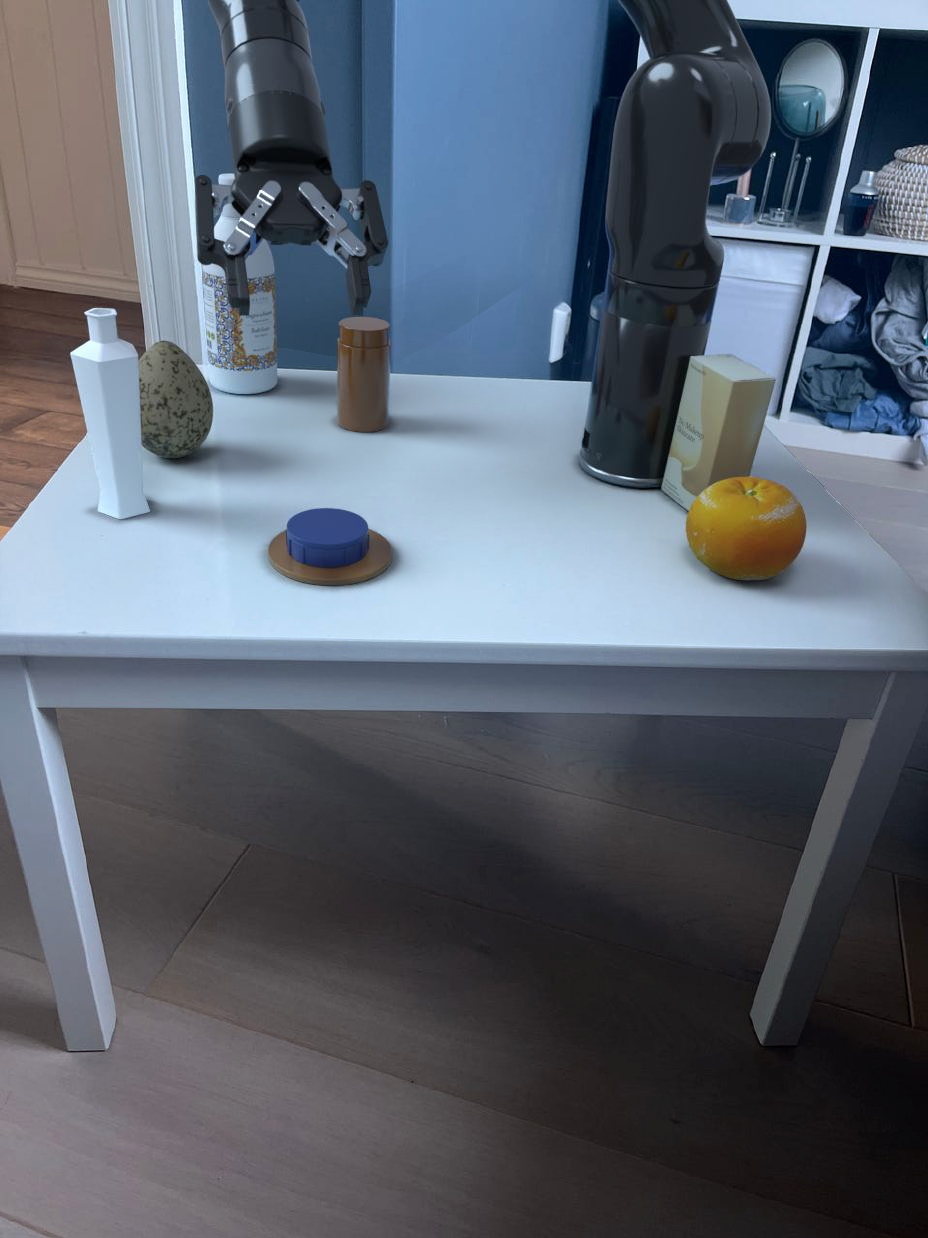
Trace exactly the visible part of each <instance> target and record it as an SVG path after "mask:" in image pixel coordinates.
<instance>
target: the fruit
mask: <svg viewBox="0 0 928 1238" xmlns="http://www.w3.org/2000/svg"><path fill="white" fill-rule="evenodd" d="M807 526H808V525H807V518H806V514H805V511H804V509H803V506H802V504H801V502H800V500H799V498H797V496H796V495H795V494H794V493H793V492H792V491H791V490H790V489H788V488H787V487H785V486H783V485H782V484H779V483H778V482H776V481H773V480H769V479H765V478H761V477H758V476H757V477H756V476H750V477H734V478H729V479H725V480H721V481H719V482H716V483H714V484H712V485H711V486H709V487H708V488H706V489H705V490H704V491H703V492H701V493H700V494H699V495H698V496H697V498H696V499H695V500H694V502H693V503H692V505H691V507H690V509H689V511H688V512H687V515H686V519H685V535H686V540H687V544H688V546H689V549H690V550H691V552H692V554H693V555H694V557H696V559H697V560H698V561H699V562H700V563H702V564H703V566H705V567H707V568H708V569H709V570H711V571H713V572H714V573H716V574H718V575H720V576H722V577H725V578H729V579H731V580H736V581H737V580H738V581H763V580H768V579H772V578H774V577H776V576H778V575H779V574H781V573H783V572H784V571H785V570H786V569H787V568H788V567H790V566H791V564H793V562H794V561H795V560H796V559H797V558H798V556H799V554H800V553H801V551H802V549H803V547H804V544H805V540H806V536H807Z"/></svg>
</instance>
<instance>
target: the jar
mask: <svg viewBox="0 0 928 1238" xmlns="http://www.w3.org/2000/svg"><path fill="white" fill-rule="evenodd" d="M337 327H339V333H338V334H339V335H338V337H337V339H336V357H337V358H336V423H337V425H338V426H339V427H340V428H342V429H345V430H348V431H350V432H351V431H353V432H359V433H373V432H379V431H382V430H384V429H386V428H387V427H388V426H389V420H390V419H389V418H390V392H391V367H392V365H391V363H392V362H391V361H392V341H391V339H390V334H391V333H390V329H391V328H390V327H391V325H390V323H389V322H388V321H386V320H384V319H381V318H377V317H371V316H351V317H345V318H343V319H341V320H340V321H339V322H338V324H337Z"/></svg>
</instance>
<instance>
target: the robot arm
mask: <svg viewBox="0 0 928 1238" xmlns="http://www.w3.org/2000/svg"><path fill="white" fill-rule="evenodd" d="M206 1H207V3H208V6H209V8H210V10H211V13H212V15H213V17H214V19H215V22H216V24H217V27H218V29H219V35H220V47H221V56H222V62H223V63H222V64H223V70H224V71H223V72H224V104H225V112H226V113H225V114H226V119H227V120H226V121H227V129H228V137H229V145H230V153H231V162H232V169H233V174H234V177H235V179H234V181H233V183H232V185H222V184H219V183H213V182H212V179H211V178H210V177H209V176H208V175H206V174H199V175H197V176H196V177H195V178H194V208H195V209H194V212H195V214H194V215H195V233H196V234H195V236H196V255H197V257H196V258H197V262H199V263H200V265H202V264H203V265H210V264H215V265H218V266H220V267H221V268H222V269H223V270H224V272H225V277H226V286H227V294H228V302H229V304H230V306H231V307H232V308H238V310H239V316H249V311H250V296H249V288H248V280H247V272H246V264H245V260H246V259H247V257H248V256H249V255H252V254H253V252H254V251H255V250H256V248H257V247H258V246H259V244H260V243H261V242H262V240H263V239H265V240H266V241H267V242H270V245H271V246H283V245H288V244H294V245H298V246H312V243H314V242H315V243H316V244H317V245H318V246H319V247H320V248H321V249H322V250H323V251H324V252H325V253H326V254H327V255H328V256H329V257H334V258H335V259H336V260H337V261H338V262H339V263H340V264H341V265H342V266H343V267H344V268H345V269H346V271H345V280H346V288H347V294H348V301H349V308H350V313H351V315H353V316H358V315H359V316H361V315H362V313H363V310H364V308H367V307H368V304H369V301H370V297H371V294H372V287H371V281H370V275H369V267H371V266H373V267H380V266H381V265H382V264H383V261H384V258H385V255H386V252H387V249H388V246H389V240H388V234H387V231H386V226H385V221H384V217H383V213H382V209H381V204H380V199H379V194H378V190H377V187H376V184H375V183H374V182H373V181H372V180H367V179H365V180H363V181H362V182H361V183H360V186H359V187H357V188H355V187H354V188H341V187H340V185H339V184H338V183H337V181H336V180H335V178H334V173H333V166H332V160H331V159H332V158H331V152H330V146H329V138H328V131H327V125H326V120H325V119H326V109H325V105H324V102H323V99H322V93H321V89H320V84H319V82H318V78H317V76H316V71H315V67H314V61H313V54H312V48H311V40H310V33H309V29H308V23H307V20H306V17H305V14H304V12H303V11H304V10H302V8H301V6H300V3H302V1H303V0H206ZM617 2H618V3H619V4H620V6H621V7H622V8H623V9H624V11H625V12H626V14H627V15H628V17H629V18H630V20H631V22H632V23H633V25H634V26H635V29H636V30H637V32H638V34H639V36H640V38H641V40H642V42H643V45H644V47H645V49H646V52H647V55H648V59H647V60H646V61H645V62H642V64H641V65H640V66H639V67H638V68H637V69H636V70H635V71H634V73H633V74H632V75H631V77H630V78H629V80H628V82H627V84H626V86H625V88H624V91H623V92H622V96H621V98H620V102H619V104H618V108H617V113H616V117H615V121H614V127H613V133H612V134H613V135H612V143H611V151H610V162H609V173H608V184H607V193H606V204H605V217H604V218H605V219H604V220H605V221H604V224H605V233H606V239H607V242H608V247H609V257H608V258H609V259H608V264H607V265H608V266H607V272H606V278H605V284H604V285H605V286H604V292H603V299H602V300H603V301H602V305H601V306H602V308H601V312H600V313H601V314H600V321H599V326H598V327H599V328H598V334H597V341H596V347H595V355H594V362H593V369H592V370H593V371H592V376H591V382H590V389H589V397H588V401H587V402H588V403H587V409H586V416H585V422H584V425H583V431H582V432H581V433H582V437H581V448H580V451H579V455H578V464H579V466H580V467H581V469H582V470H584V471H585V472H586V473H587V474H589V475H591V476H592V477H595V478H597V479H598V480H602V481H604V482H607V483H610V484H613V485H619V486H623V487H631V488H643V489H644V488H647V489H648V488H659V487H662V483H663V479H664V474H665V470H666V465H667V461H668V456H669V452H670V447H671V443H672V438H673V434H674V429H675V425H676V420H677V416H678V411H679V407H680V402H681V398H682V393H683V389H684V384H685V380H686V375H687V371H688V366H689V362H690V357H691V356H700V355H706V349H707V343H708V339H709V335H710V329H711V325H712V320H713V315H714V310H715V304H716V300H717V295H718V291H719V286H720V281H721V277H722V272H723V266H724V263H725V262H724V261H725V249H724V246H723V245H722V243H720V241H718V239H716V238H714V237H713V236H712V235H711V234H710V233H709V230H708V226H707V212H708V205H709V197H710V189H711V186H714V185H720V184H726V183H730V182H732V181H735V180H738V179H740V178H741V177H744V176H745V175H747V173H749V172H750V171H751V170H752V169H753V168H754V167H755V165H756V164H757V162H758V161H760V158H761V157H762V155H763V153H764V150H766V145H767V143H768V140H769V137H770V131H771V123H772V108H771V107H772V106H771V99H770V98H771V97H770V94H769V91H768V90H769V89H768V87H767V84H766V81H765V78H764V75H763V74H762V73H763V72H762V71H761V68H760V66H759V64H758V61H757V60H756V58H755V56H754V53H753V51H752V49H751V47H750V44H749V43H748V41H747V39H746V37H745V35H744V33H743V31H742V28H741V26H740V24H739V22H738V20H737V18H736V16H735V14H734V11H733V9H732V7H731V5H730V3H729V1H728V0H617ZM228 203H231V204H232V206H233V208H234V209H235V210H236V211H237V212H238V213H239V214H240V215H241V216H242V217H241V218H240V220H239V222H238V225H237V227H236V229H235V230H234V231H233V233H232V234H231V235H230V237H229V238H228V239H227V241H226V242H224V241H221V240H218V239H215V238H214V227H215V223H214V221H215V220H214V218H217V217H218V216H219V215H220V216H221V213H222V211H223V207H224V206H225V205H226V204H228ZM341 207H343V208H346V209H347V210H348V211H349V213H350V215H351V217H352V219H353V220H355V221H358V222H359V227H360V232H361V236H362V240H363V242H362V240H360V239H359V237H357V236H356V235H355V234H354V233H353V232H352V230H351V229H350V227H349V224H348V222H347V220H346V219H345V218H344V217H343V216H342V215H341V214H340V213H339V212H340V209H341Z"/></svg>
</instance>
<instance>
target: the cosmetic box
mask: <svg viewBox="0 0 928 1238" xmlns="http://www.w3.org/2000/svg"><path fill="white" fill-rule="evenodd" d="M776 381H777V377H775V376H773V375H770V374H769V373H767V372H765V371H763V370H762V369H760V368H759V367H757V366H756V365H754V364H752V363H750V362H747V361H744V360H743V359H741V358H739V357H738V356H736V355H734V354H732V353H720V354H705V355H700V356H691V357H690V362H689V366H688V371H687V375H686V380H685V384H684V389H683V393H682V398H681V402H680V407H679V411H678V416H677V420H676V425H675V429H674V434H673V438H672V443H671V447H670V452H669V456H668V461H667V465H666V470H665V474H664V479H663V483H662V486H661V491H662V492H664V493H665V494H666V495H667V496H668V497H670V498H671V499H672V500H673V501H675V502H676V503H677V504H678V505H680V507H682V508H684V510H686V511H688V512H689V509H690V507H691V505H692V503H693V502H694V500H695V499H696V498H697V496H698V495H699V494H700V493H701V492H703V491H704V490H705V489H706V488H708V487H709V486H711V485H712V484H714V483H716V482H719V481H721V480H725V479H729V478H734V477H751V473H752V469H753V465H754V461H755V458H756V455H757V450H758V447H759V444H760V440H761V436H762V433H763V428H764V425H765V421H766V417H767V414H768V410H769V406H770V404H771V403H770V402H771V400H772V396H773V392H774V389H775V385H776Z"/></svg>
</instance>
